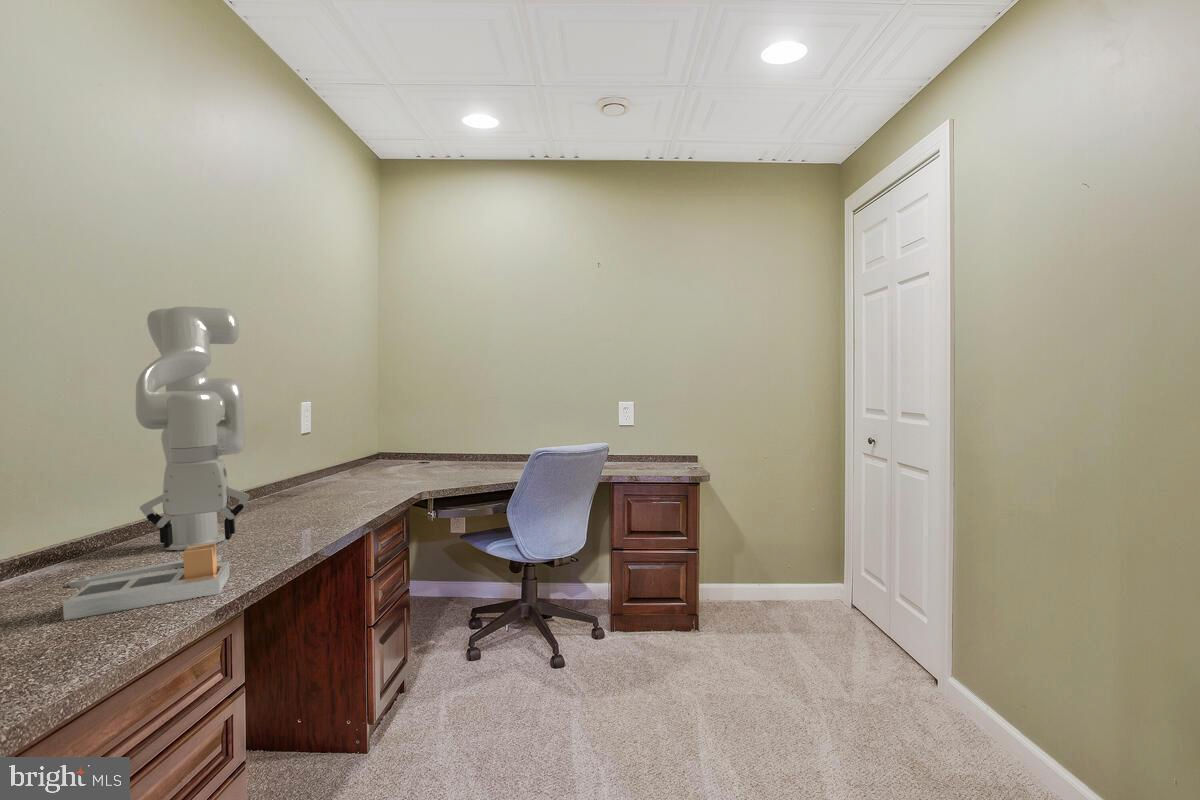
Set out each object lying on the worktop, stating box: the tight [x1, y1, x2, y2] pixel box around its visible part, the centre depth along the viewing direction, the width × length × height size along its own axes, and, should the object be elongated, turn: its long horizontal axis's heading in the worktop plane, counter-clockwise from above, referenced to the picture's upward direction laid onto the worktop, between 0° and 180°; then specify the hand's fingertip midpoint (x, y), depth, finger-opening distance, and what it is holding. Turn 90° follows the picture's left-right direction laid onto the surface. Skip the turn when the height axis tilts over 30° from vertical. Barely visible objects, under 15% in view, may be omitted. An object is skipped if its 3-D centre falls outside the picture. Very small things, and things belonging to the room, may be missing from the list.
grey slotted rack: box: [68, 554, 222, 588], centre depth 118 cm, size 25×6×2 cm, turn 122°
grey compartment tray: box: [62, 560, 231, 622], centre depth 102 cm, size 12×22×3 cm, turn 117°
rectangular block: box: [182, 543, 218, 579], centre depth 106 cm, size 4×4×8 cm
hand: (199, 541), depth 106 cm, fingers open, 9 cm apart
